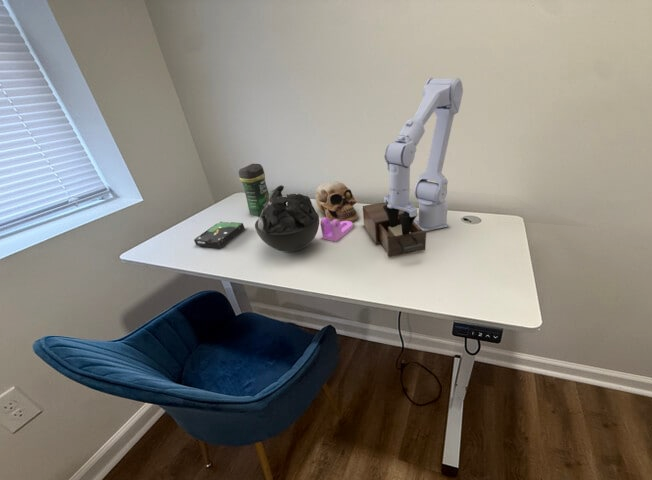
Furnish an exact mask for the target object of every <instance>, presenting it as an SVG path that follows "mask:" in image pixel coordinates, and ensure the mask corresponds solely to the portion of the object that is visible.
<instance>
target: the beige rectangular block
mask: <svg viewBox="0 0 652 480" xmlns="http://www.w3.org/2000/svg"><path fill="white" fill-rule="evenodd" d="M410 233H411V232H410ZM388 234H389V235H390V237H393V236H398V235H403V234H402V226H401V225H397V226H396V227H393V228H391V226H390V227H388Z"/></svg>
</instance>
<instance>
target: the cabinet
mask: <svg viewBox="0 0 652 480" xmlns="http://www.w3.org/2000/svg"><path fill="white" fill-rule="evenodd" d="M384 205H387V203H385V202H384V201H383V202H378V203H373V204H372V203H371V204H367V205H362V217H363V227H364V229H365V230H366V231H367V233H368V235H369V236H370V237H371V239H372V241H373V242H374V243H375V245H379V244H381V242H380V241H379V239H378V232H377V224H380V223H385V222H389V219H388V216H387V214H386V212H385V210H384V209H383V206H384ZM403 213H404V211H402V210H399V214H403ZM399 214H398V215H399ZM398 220H400V219H399V217H398ZM413 222H415V220H414V221H413Z"/></svg>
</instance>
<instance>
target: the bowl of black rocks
mask: <svg viewBox="0 0 652 480" xmlns="http://www.w3.org/2000/svg"><path fill="white" fill-rule="evenodd" d="M284 188H285V186H284V185H279V186H277V187H276V188H275V189H273V190H271V191H270V192H269V198H268V199H267V201H266V203H265V206H264V209H263V210H262V213H261V215H259V217H258V219H257V220H256V221H255V223H254V229H255V231H256V233H257V235H258V237H259V238H260V239H261V240H262V241H263V243H265V244H266V245H267V246H269V247H270V248H272V249H274V250H277V251H280V252H287V253H293V252H296V251H299V250H302V249H304V248H306V247H307V246H309V245H310V244H311V243H312V242H313V240H314V239H315V237H316V236H317V234H318V231H319V227H320V215H319V213H318V212H317V211H316V209H315V207H314V205H313V203H312V200H311V198H310V197H309V196H308V195H303V194H301V193H298V194H297V193H289V194H285V196H284V195H283V194H282V192H283V191H284Z"/></svg>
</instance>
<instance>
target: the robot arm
mask: <svg viewBox="0 0 652 480" xmlns="http://www.w3.org/2000/svg"><path fill="white" fill-rule="evenodd" d="M463 93H464V88H463V82H462V80H461V78H460V77H455V78H433V77H429V78H428V79H427V80H426V82H425V84H424V86H423V90H422V100H421V101H420V104H419V106H418V108H417V109H416V112H415V114H414V116H413V118H410V119H408V120H406V122H405V124H404V125H403V127H402V129H401V130H400V132H399V134H398V135H397V137H396V139H395V140H394V141H392V142H390V143H389V144H388V145H387V146H386V149H385V150H384V162H385V163H386V167H387V171H388V173H389V174H388V175H389V194H386V195H383V202H385V203H387V205H384V206H383V209H384V210H385V212H386V214H387V216H388V219H389V223H390V226H391V228H393V227H396V226H397V224H398V217H399V219H400V222H401V226H402V234H408V233H410V229H411V226H412V223H413V221H414V223H415V224H416V225H417V226H418V227H419V228H420V229H421V231H424V230H425V231H426V232H429V231H433V230H434V231H435V230H438V229H439V230H440V229H445V228H448V225H447V221H448V208H449V207H448V203H447V201H446V198H447V193H448V183H449V180H448V179H447V178H446V176H445V175H444V174H443V168H444V163H445V158H446V154H447V150H448V145H449V140H450V136H451V132H452V127H453V122H454V118H455V115H457V114H458V113H459V111H460V108H461V103H462V98H463ZM433 114H435V116H436V119H435V123H434V124H435V125H434V130H433V134H432V140H431V144H430V150H429V153H428V154H429V155H428V159H427V164H426V170H425V171H424V172H422V173H420V175H418V177H417V181H416V183H415V184H414V187H413V188H414V189H413V194H414V197H415V199H416V201H417V202H418V209H417V208H416V207H415V206H414V205H413V203H412V202H411V201H410V192H411V191H410V189H411V188H410V186H411V184H410V183H411V180H410V179H411V165H412V164H413V162H414V160H415V156H416V152H417V146H418V145H419V143H420V141H421V140H422V138H423V136H424V134H425V133H426V131H425V125H426V123H428V121H429V119H430V118H431V117H432V115H433ZM399 210H402V211H404V213H403V214H399ZM398 214H399V215H398ZM417 217H418V220H416V218H417Z"/></svg>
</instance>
